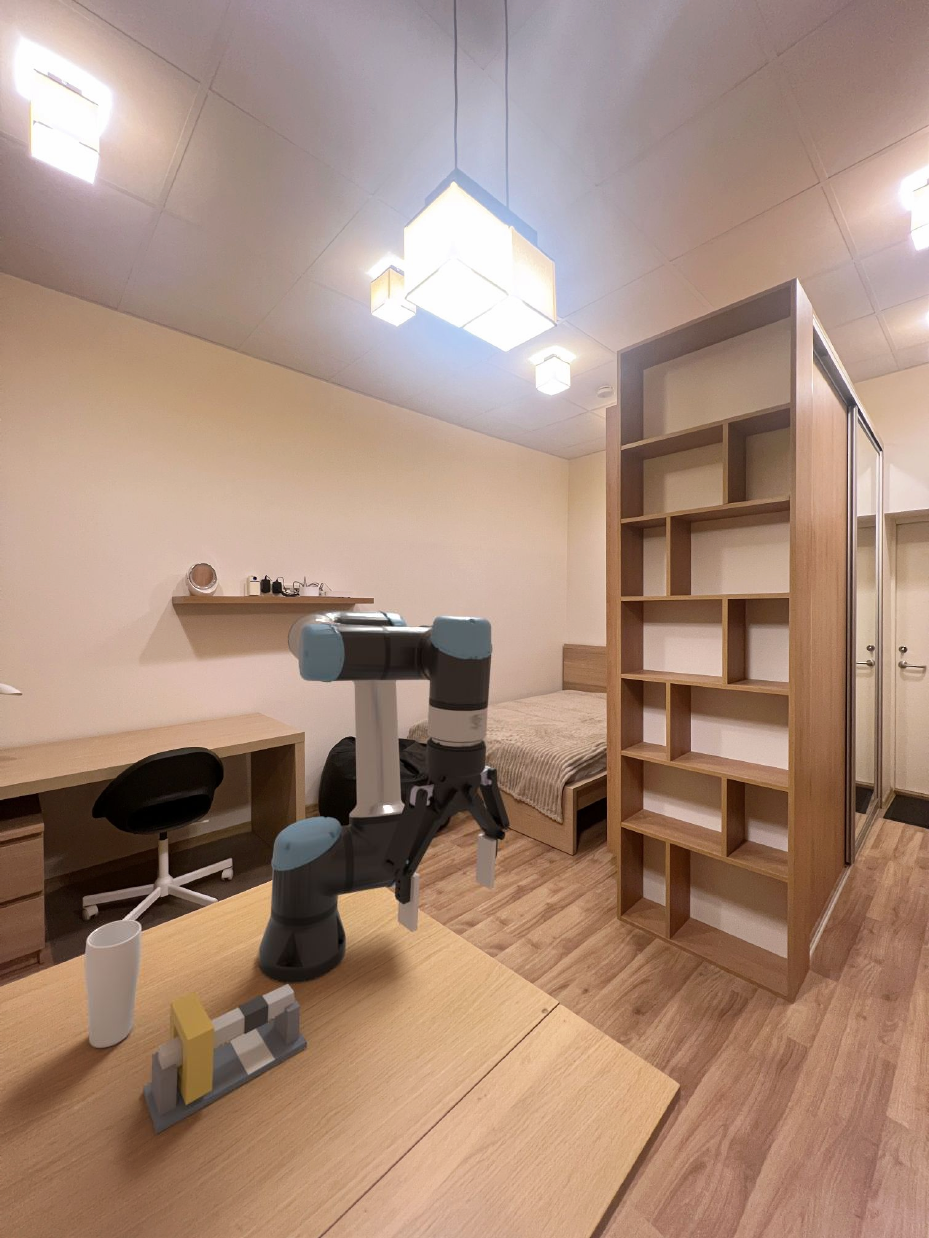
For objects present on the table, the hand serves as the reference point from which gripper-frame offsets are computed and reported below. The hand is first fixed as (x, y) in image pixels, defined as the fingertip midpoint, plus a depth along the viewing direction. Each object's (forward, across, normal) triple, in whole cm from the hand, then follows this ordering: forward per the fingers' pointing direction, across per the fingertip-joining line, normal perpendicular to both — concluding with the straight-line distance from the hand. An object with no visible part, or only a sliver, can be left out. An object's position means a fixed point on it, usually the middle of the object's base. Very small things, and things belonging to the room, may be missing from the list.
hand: (448, 903), depth 66 cm
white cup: (+27, -28, +40) cm, 56 cm away
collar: (+25, -22, +24) cm, 41 cm away
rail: (+27, -18, +23) cm, 39 cm away
